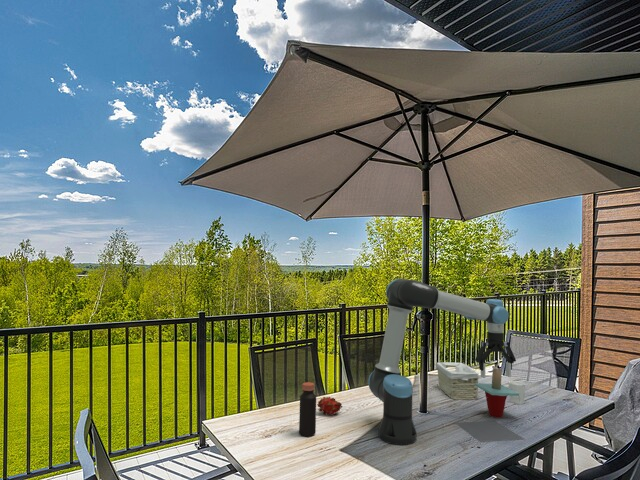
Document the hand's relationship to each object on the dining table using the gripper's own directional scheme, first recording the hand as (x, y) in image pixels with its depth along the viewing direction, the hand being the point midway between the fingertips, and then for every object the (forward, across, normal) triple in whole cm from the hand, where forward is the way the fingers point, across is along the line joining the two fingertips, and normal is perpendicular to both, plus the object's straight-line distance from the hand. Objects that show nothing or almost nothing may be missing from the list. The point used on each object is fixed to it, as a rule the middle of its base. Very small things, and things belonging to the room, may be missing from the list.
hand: (495, 377), depth 187 cm
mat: (+18, -15, -16) cm, 28 cm away
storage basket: (+19, 0, +35) cm, 39 cm away
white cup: (+18, +24, +17) cm, 35 cm away
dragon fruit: (+18, -78, +13) cm, 81 cm away
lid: (+6, 0, 0) cm, 6 cm away
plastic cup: (+18, 0, 0) cm, 18 cm away
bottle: (+18, -92, -8) cm, 94 cm away
